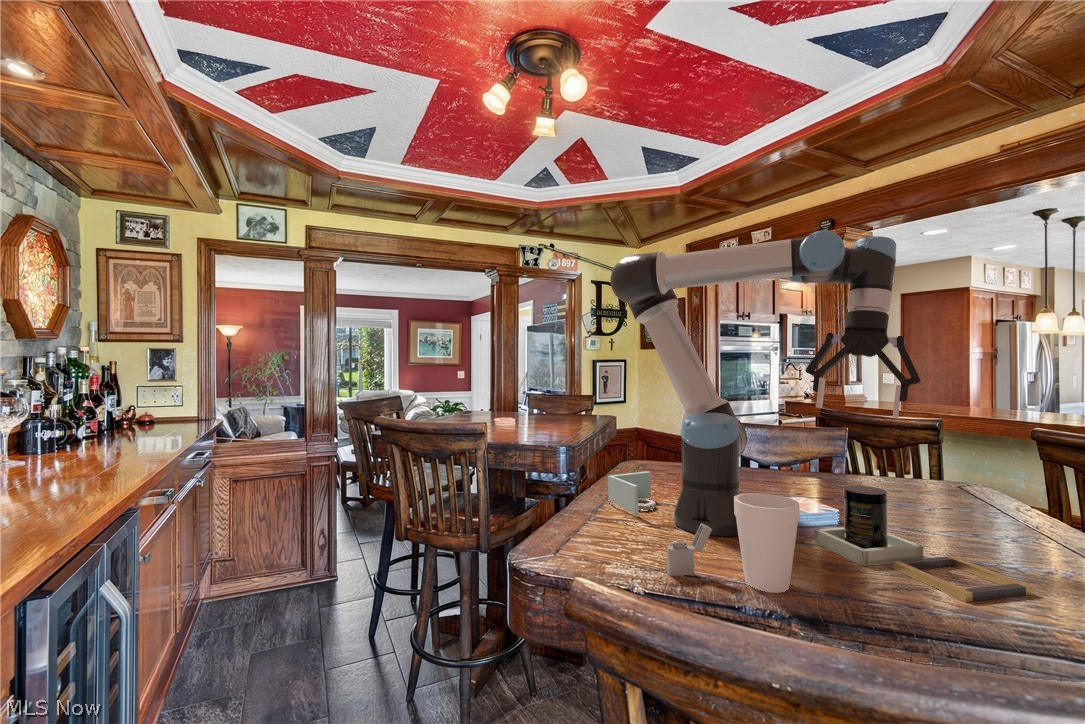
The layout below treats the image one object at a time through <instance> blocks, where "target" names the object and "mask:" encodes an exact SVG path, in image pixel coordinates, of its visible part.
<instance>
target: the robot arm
mask: <svg viewBox="0 0 1085 724" xmlns="http://www.w3.org/2000/svg"><path fill="white" fill-rule="evenodd" d="M896 257H897V242H896V241H895V240H894V239H892V238H890V237H886V236H877V235H875V236H874V235H873V236H867V237H866V236H865V237H862V238H859V239H858V240H856V241H855V242H854V246H853V247H851V248H845V243H844V240H843V239H842V238H841V236H840V235H838V234H837V233H836V232H834V231H831V230H827V229H826V230H825V229H824V230H818V231H814V232H813V233H811V234H809V235H807V236H804V237H796V238H791V239H790V238H789V239H783V240H776V241H775V240H774V241H768V242H760V243H759V242H758V243H750V244H745V245H744V244H743V245H737V246H729V247H721V248H713V249H707V250H697V251H690V252H685V253H684V252H683V253H676V254H675V253H674V254H666V253H664V252H663V251H655V252H647V253H636V254H631V255H627V256H625V257H622V259H620V260H619V261H618V262H617V263H616V264H615V265H614V267H613V268H612V270H611V274H610V278H609V279H610V281H609V284H610V287H611V290H612V292H613V293H614V295H615V296H616V297H617V299H619V300H620V301H622V302H624V303H626V304H627V305H628V307H629V309H630V311H631V313H632V316H633V317H634V320H635V321H636V323H640V324H642V325H644V326H645V330H646V331H647V333H648V336H649V337H650V339H651V342H652V344H653V346H654V348H655V349H656V353H657V354H658V356H659V359H660V361H661V363H662V364H663V367H664V369H665V372H666V373H667V375H668V377H669V380H670V382H671V383H672V384H671V385H672V386H673V387H674V390H675V392H676V394H677V396H678V398H679V400H680V403H681V405H682V408H683V409H684V414H683V417H682V422H681V428H680V436H681V476H682V477H681V481H682V482H681V484H682V485H681V490H680V493H679V496H678V499H677V502H676V505H675V508H674V513H673V517H674V521H673V522H674V524H675V525H676V526H677V527H678V528H680V529H682V530H685V531H687V532H690V533H694V534H696V533H697V531H698V529H699V526H700V524H701V523H702V524H704V525H706V526H709V527H710V528H711V529H712V531H711V533H710V535H709V536H713V537H730V536H731V537H732V536H739V535H738V528H737V521H736V515H734V496H736V495H739V494H741V492H740V457H742V455H743V454H744V452H745V451H746V447H747V443H748V442H747V441H748V435H747V430H746V428H745V426H744V425H743V423H742V422H741V420H740V419H738V417H737V416H736V414H735V412H734V410H733V408H732V407H731V404H730V402H729V400H727V399H724V398H721V397H720V396H719V395H718V393H717V391H716V389H715V386H714V384H713V382H712V380H711V378H710V376H709V374H708V373H707V370H706V369H705V366H704V364H703V362H702V360H701V358H700V355H699V354H698V352H697V350H696V348H695V346H694V343H693V341H692V340H691V338H690V335H689V334H688V332H687V329H686V327H685V325H684V323H683V321H682V320H681V317H680V316H679V313H678V312H677V308H678V307H677V306H678V305H679V299H678V297H677V295H676V292H675V291H674V289H683V288H686V289H687V288H693V287H703V286H705V287H706V286H712V285H713V286H714V285H723V284H731V283H742V282H752V281H761V280H771V279H780V278H781V279H782V278H788V279H789V280H790V282H792V283H801V284H802V283H803V284H840V285H847V284H848V285H849V290H848V291H849V292H848V298H847V306H846V309H847V310H848V312H847V313H846V315H845V323H844V330H843V332H842V335H840V334H836V333H835V334H834V333H832V332H828V333H826V336H825V339H824V340H825V341H824V343H823V345H821V347H820V348H819V350H818V351H817V352H816V354H815V355H814V357H813V358H812V360H811V361H810V362H809V364H808V365H807V366H806V368H805V369H804V371H805V373H806V374H809V375H811V376H812V377H813V382H812V383H813V384H812V391H813V393H817V395H816V403H815V408H818V409H823V404H824V396H825V389H826V388H825V387H826V381H827V380H826V379H827V378H824V377H823V376H825V375H826V374H827V373H828V372H829V371H830V370H832V369H833V368H834V367H835V366H837V365H838V364H840V362H841V361H843V359H845V358H847V357H848V356H849V355H851V356H854V357H867V358H872V357H875V356H877V357H878V358H879V359H880V360H881V362H882V363H883V364H884V365H885V366H886V368H887V369H889V371H890V372H891V373H892V374H893V375H894V376H895V377H894V378H896V379H897V380H898V381H899V382H900V384H895V391H894V401H893V410H892V418H894V419H899V414H900V413H899V412H900V405H901V402H902V403H906V402H907V401H908V398H909V397H908V395H909V389H910V387H911V386H914V385H919V384H920V383H921V378H920V376H919V374H918V372H917V369H916V367H915V366H914V364H913V362H912V360H911V358H910V356H909V354H908V350H907V349H906V339H905V337H904V336H903V335H898V336H896V337H895V336H893V337H890V336H889V337H888V326H889V319H890V316H889V313H887V312H889V311H891V309H890V308H891V302H892V293H893V292H892V291H893V286H894V285H893V283H894V279H895V278H894V277H895V268H896V262H897V259H896ZM840 341H841V343H842V345H843V347H841V349H840V350H839V351H838V352H837V353H836V354H835V355H833V356H832V357H831V358H830V359H829V360H827V361H826V362H825V363H824V364H823V365H821V366H820V367H819V365H820V364H821V362H823V360H824V359H825V357H826V356H827V355H828V353H829V351H830V350H831V349H832V347H833V346H834V345H836V344H837V343H838V342H840ZM889 344H891V345H892V347H894V348H896V349H897V351H898V353H899V355H900V358H901V359H902V361H903V363H904V365H905V367H906V370H907V372H908V374H909V376H910V378H907V377H905V375H904V374H903V373H902V372H901V371H900V370H899V368H898V367H897V366H896V365H895V363H893V361H892V360H891V359H890V358H889V357H888V355H886V353H885V352H884V351H883V349H885V348H886V346H887V345H889ZM818 367H819V368H818ZM817 368H818V369H817ZM816 369H817V370H816Z"/></svg>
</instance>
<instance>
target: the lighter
mask: <svg viewBox="0 0 1085 724" xmlns="http://www.w3.org/2000/svg"><path fill="white" fill-rule="evenodd" d="M711 531H712V529H711V528H710V527H709V526H706V525H704V524H702V523H701V524H700V526H699V529H698V531H697V533H695V535H694V537H693V540H692V542H691V544H690V545H689V544H687V543H688V542H687V541H686V540H673V542H672V543H671V545H666V573H667V574H668V576H670V577H676V576H677V577H682V576H683V577H684V575H691V576H695V551H697V552H700V553H702V552H703V550H704V549H705V546H706V544H707V541H708V539H709V537H710V536H711V535H710V533H711Z"/></svg>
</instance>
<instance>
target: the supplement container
mask: <svg viewBox="0 0 1085 724" xmlns="http://www.w3.org/2000/svg"><path fill="white" fill-rule="evenodd" d="M842 491H843V495H842V496H843V520H844V521H843V523H844V534H845V541H847V542H849V543H851V544H853V545H856V546H858V547H860V548H862V549H868V548H880V547H888V533H889V532H888V492H887V490H885V489H883V488H878V487H875V486H869V485H857V484H854V485H853V484H852V485H845V486H843V490H842Z"/></svg>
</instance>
